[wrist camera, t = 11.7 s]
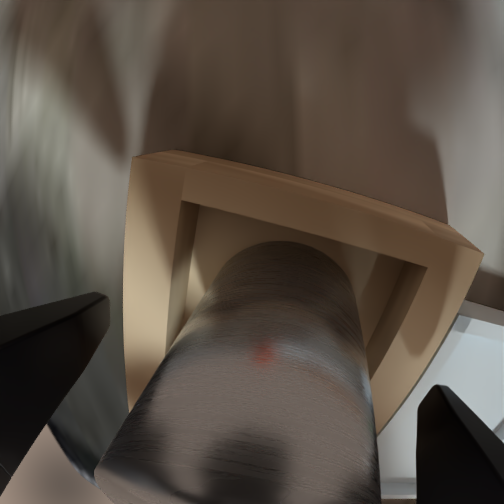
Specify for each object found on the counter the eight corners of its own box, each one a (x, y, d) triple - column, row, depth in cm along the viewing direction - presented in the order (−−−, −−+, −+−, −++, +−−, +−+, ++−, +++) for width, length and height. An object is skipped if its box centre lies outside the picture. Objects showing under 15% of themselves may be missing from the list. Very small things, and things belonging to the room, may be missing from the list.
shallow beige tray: (297, 485, 15) (293, 519, 13) (154, 446, 16) (138, 477, 14) (448, 225, 9) (484, 253, 6) (174, 149, 10) (131, 156, 7)
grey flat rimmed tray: (442, 480, 14) (445, 496, 13) (324, 475, 15) (323, 494, 13) (567, 330, 9) (580, 345, 8) (445, 294, 10) (459, 314, 8)
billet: (377, 264, 9) (447, 494, 2) (327, 377, 11) (315, 566, 4) (224, 222, 9) (64, 406, 3) (202, 344, 11) (114, 516, 5)
